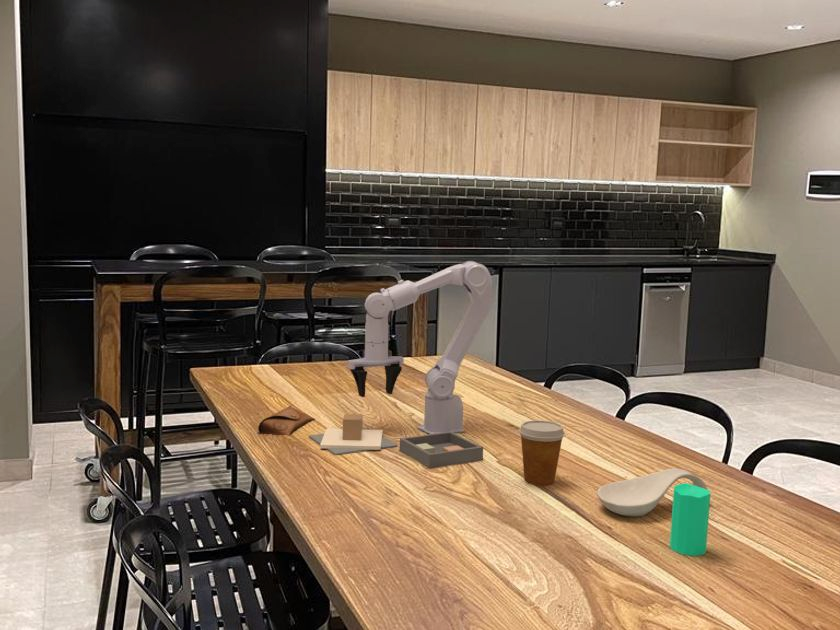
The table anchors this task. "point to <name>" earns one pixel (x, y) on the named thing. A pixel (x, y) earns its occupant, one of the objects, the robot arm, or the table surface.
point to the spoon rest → (642, 491)
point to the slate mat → (384, 444)
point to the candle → (689, 519)
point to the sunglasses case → (284, 422)
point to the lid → (352, 435)
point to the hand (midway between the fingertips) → (375, 394)
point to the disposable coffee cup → (540, 451)
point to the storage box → (441, 449)
